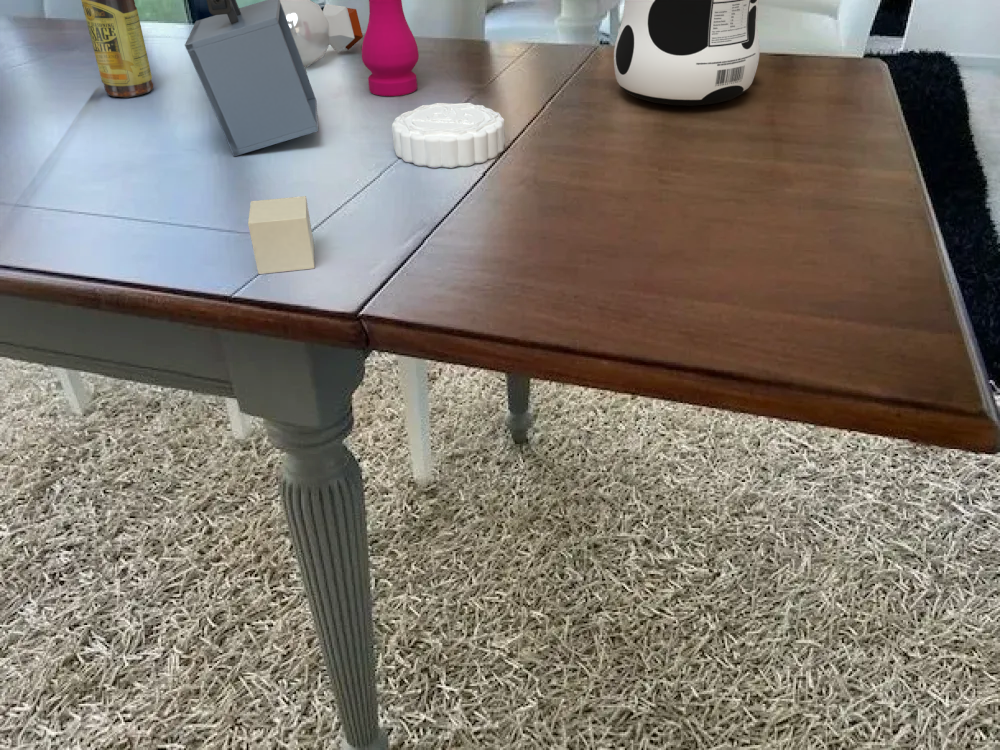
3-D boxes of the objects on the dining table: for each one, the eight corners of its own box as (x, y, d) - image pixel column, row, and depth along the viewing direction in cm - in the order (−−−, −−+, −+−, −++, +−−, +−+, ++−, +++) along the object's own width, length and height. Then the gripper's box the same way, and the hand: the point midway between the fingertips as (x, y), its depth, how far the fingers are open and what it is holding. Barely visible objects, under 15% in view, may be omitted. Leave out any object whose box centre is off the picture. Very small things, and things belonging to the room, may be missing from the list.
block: (258, 274, 69) (247, 223, 67) (260, 250, 73) (250, 201, 70) (314, 268, 70) (306, 217, 67) (313, 245, 73) (306, 195, 71)
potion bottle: (267, 83, 120) (342, 71, 131) (304, 47, 113) (380, 37, 124) (236, 22, 119) (314, 15, 130) (271, -18, 112) (351, -22, 123)
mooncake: (516, 134, 96) (515, 101, 94) (489, 172, 86) (488, 138, 84) (415, 127, 98) (412, 96, 96) (377, 164, 89) (374, 130, 87)
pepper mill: (376, 81, 115) (358, -87, 103) (427, 83, 113) (416, -87, 102) (357, 96, 109) (337, -80, 98) (412, 99, 108) (397, -80, 96)
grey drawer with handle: (161, -7, 82) (256, -35, 82) (175, -26, 91) (261, -52, 91) (233, 156, 92) (318, 131, 92) (239, 124, 101) (316, 101, 101)
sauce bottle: (96, 95, 112) (47, -74, 101) (136, 83, 117) (94, -81, 105) (126, 102, 109) (79, -71, 98) (166, 90, 113) (126, -78, 102)
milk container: (636, 70, 116) (645, -78, 106) (765, 83, 110) (789, -74, 100) (592, 107, 103) (598, -58, 93) (736, 123, 97) (759, -52, 87)
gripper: (148, -185, 84) (194, -2, 94) (124, -182, 73) (178, 26, 82) (226, -191, 85) (263, -9, 95) (214, -189, 74) (257, 18, 83)
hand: (223, 6), depth 89 cm, fingers closed on grey drawer with handle, 5 cm apart
